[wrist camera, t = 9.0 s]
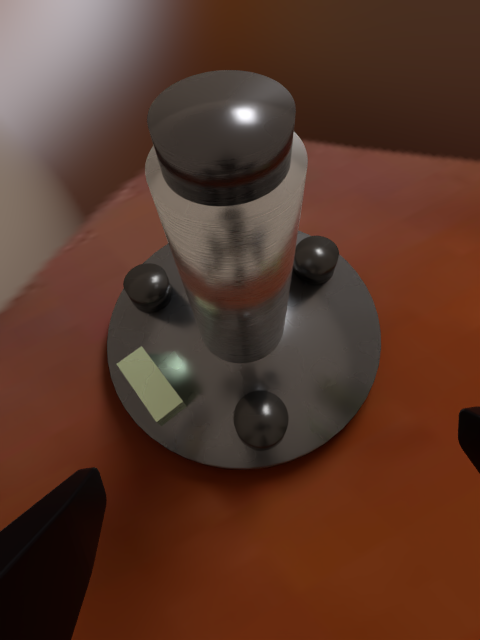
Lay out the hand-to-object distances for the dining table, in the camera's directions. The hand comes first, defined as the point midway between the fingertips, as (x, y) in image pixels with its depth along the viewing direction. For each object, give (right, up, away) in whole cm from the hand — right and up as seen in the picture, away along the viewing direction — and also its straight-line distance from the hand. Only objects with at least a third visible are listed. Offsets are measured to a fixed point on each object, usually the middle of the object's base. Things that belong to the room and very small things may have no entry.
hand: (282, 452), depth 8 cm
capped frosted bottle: (-1, +3, +12) cm, 12 cm away
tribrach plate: (-1, +3, +13) cm, 13 cm away
